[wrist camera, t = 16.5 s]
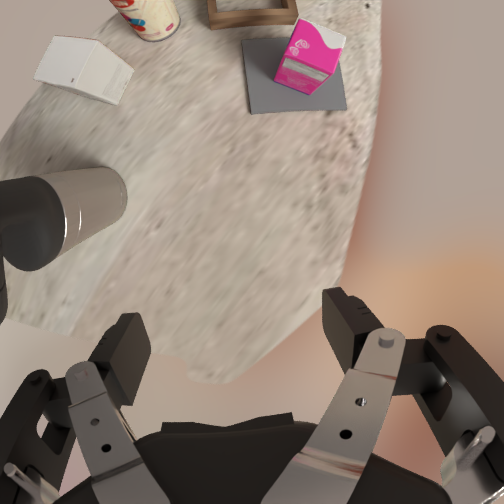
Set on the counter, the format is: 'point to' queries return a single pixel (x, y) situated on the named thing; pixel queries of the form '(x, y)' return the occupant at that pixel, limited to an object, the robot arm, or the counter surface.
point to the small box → (84, 69)
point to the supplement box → (309, 57)
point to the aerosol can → (150, 17)
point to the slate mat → (277, 95)
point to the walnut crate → (252, 16)
